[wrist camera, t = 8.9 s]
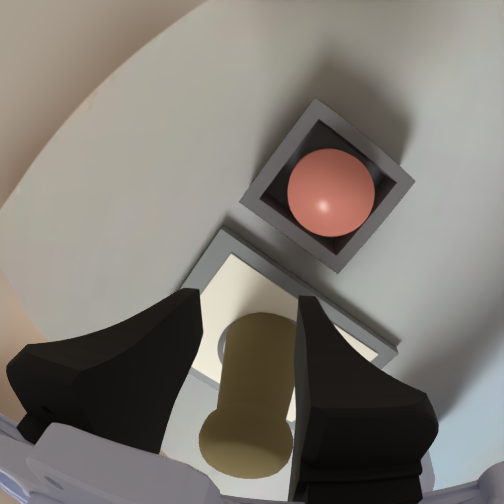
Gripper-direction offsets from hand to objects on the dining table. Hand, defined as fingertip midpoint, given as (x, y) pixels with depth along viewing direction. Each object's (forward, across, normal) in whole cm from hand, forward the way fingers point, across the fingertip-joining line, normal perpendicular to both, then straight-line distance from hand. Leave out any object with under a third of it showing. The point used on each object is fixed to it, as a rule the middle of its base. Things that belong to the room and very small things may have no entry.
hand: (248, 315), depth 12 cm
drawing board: (+10, 0, +10) cm, 14 cm away
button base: (+10, -3, -4) cm, 11 cm away
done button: (+8, -3, -4) cm, 9 cm away
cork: (+10, 0, +9) cm, 13 cm away
